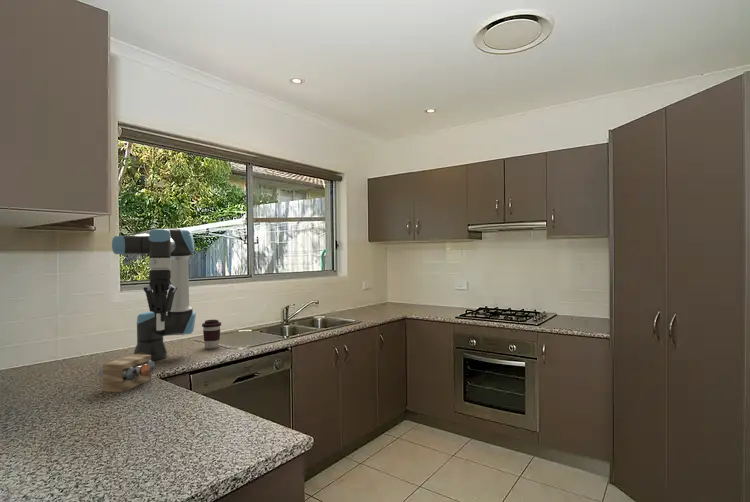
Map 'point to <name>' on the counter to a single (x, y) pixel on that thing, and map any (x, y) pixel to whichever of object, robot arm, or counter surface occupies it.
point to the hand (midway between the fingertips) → (160, 329)
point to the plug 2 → (150, 365)
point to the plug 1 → (127, 374)
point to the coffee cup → (211, 333)
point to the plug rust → (142, 369)
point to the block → (115, 373)
